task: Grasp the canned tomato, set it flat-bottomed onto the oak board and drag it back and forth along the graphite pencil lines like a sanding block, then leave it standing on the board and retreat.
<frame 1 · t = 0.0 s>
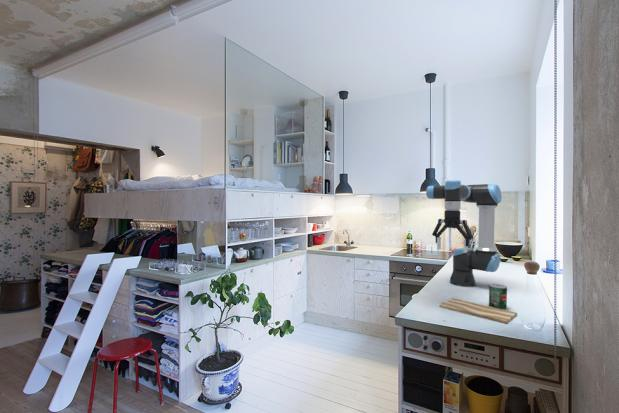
hand: (451, 251, 164), 28 cm above the table, fingers open, 13 cm apart
board: (476, 310, 156), on the table
canned tomato: (497, 307, 161), on the table
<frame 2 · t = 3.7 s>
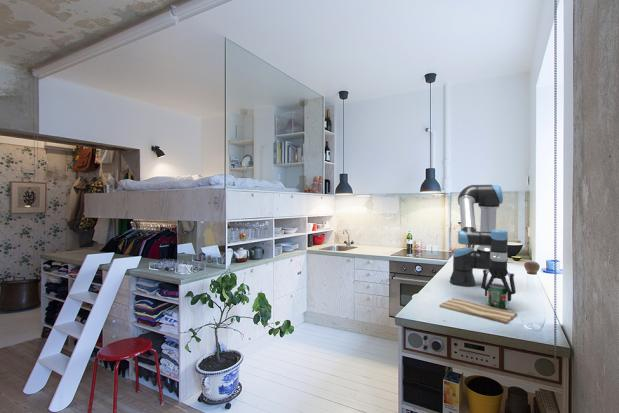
hand: (497, 304, 161), 1 cm above the table, fingers closed on canned tomato, 8 cm apart
canned tomato: (497, 307, 161), on the table, touching gripper
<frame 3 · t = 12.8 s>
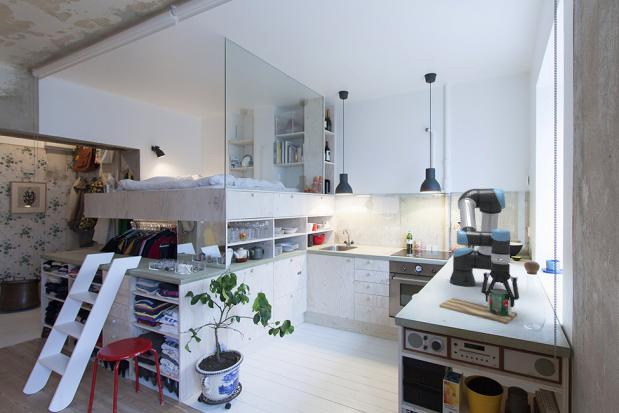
hand: (499, 311, 148), 2 cm above the table, fingers closed on canned tomato, 8 cm apart
canned tomato: (499, 314, 148), point 1 cm above the table, touching board, gripper
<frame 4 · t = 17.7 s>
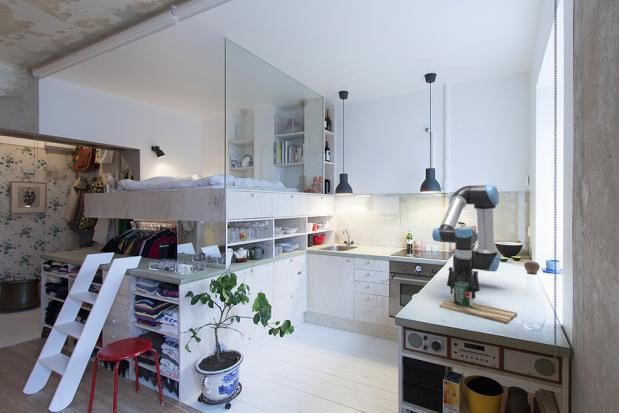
hand: (462, 302, 161), 2 cm above the table, fingers closed on canned tomato, 8 cm apart
canned tomato: (462, 305, 161), point 1 cm above the table, touching gripper
when the fingers open (2 cm above the table, at t = 22.2 s): canned tomato stays where it is, resting on board.
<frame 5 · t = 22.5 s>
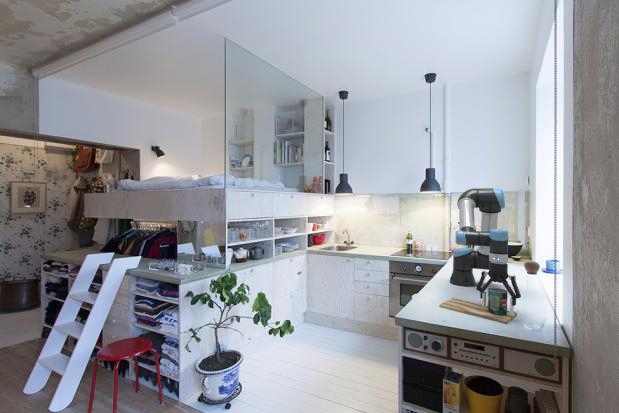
hand: (497, 309, 149), 3 cm above the table, fingers open, 11 cm apart
canned tomato: (497, 313, 149), point 1 cm above the table, touching board
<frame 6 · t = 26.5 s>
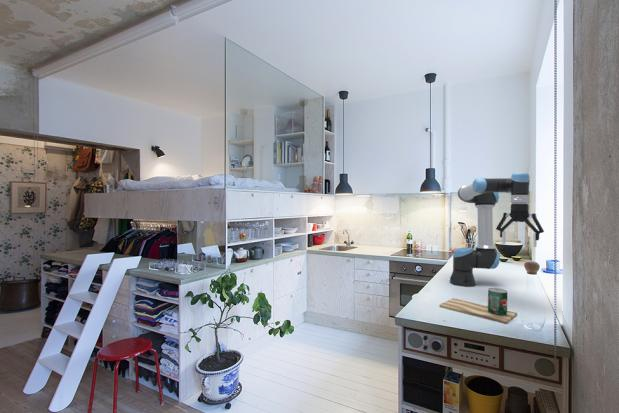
hand: (518, 245, 161), 32 cm above the table, fingers open, 13 cm apart
nothing on the table moved.
at the end: canned tomato inside the target area (9.0 cm from its centre), point 1.0 cm above the table; canned tomato tilted 0°; the gripper is holding nothing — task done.
